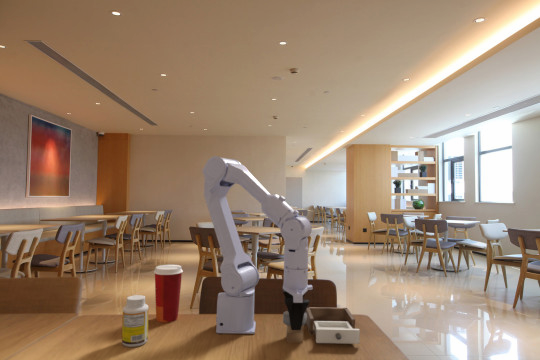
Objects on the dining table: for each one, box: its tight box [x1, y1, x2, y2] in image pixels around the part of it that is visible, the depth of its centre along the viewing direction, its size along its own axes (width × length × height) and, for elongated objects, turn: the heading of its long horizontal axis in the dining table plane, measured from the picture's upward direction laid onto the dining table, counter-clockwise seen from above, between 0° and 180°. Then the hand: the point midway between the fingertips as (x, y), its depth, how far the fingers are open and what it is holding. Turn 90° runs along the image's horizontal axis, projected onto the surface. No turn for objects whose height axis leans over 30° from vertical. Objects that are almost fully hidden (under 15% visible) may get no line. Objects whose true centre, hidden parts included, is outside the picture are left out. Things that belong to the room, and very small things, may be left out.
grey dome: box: [282, 310, 307, 327], centre depth 89 cm, size 6×6×2 cm
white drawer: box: [314, 321, 361, 345], centre depth 89 cm, size 10×10×3 cm
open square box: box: [305, 306, 356, 336], centre depth 96 cm, size 11×9×4 cm
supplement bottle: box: [121, 294, 149, 348], centre depth 85 cm, size 6×6×10 cm
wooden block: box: [286, 325, 304, 343], centre depth 88 cm, size 4×4×4 cm
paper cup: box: [153, 264, 184, 324], centre depth 101 cm, size 8×8×14 cm
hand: (294, 324), depth 89 cm, fingers closed on grey dome, 6 cm apart
